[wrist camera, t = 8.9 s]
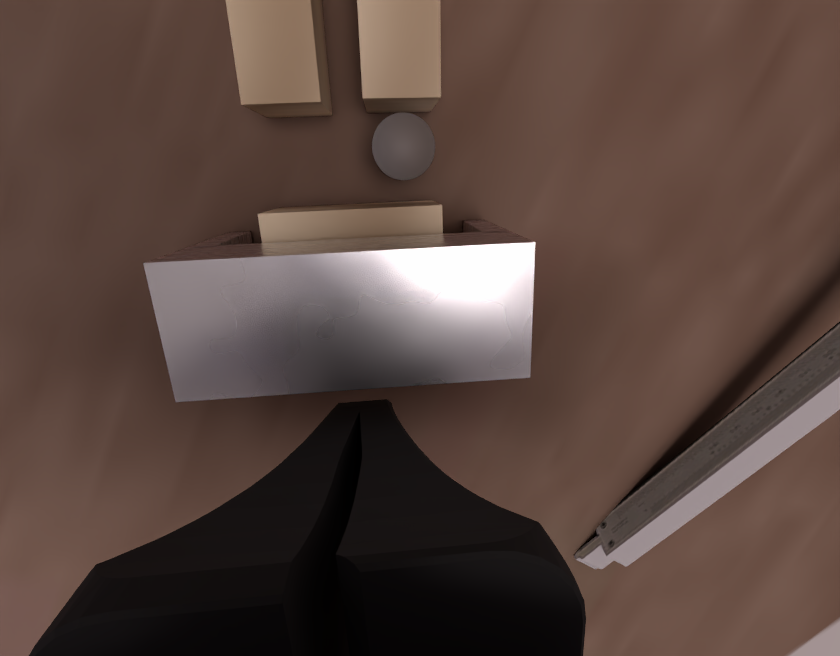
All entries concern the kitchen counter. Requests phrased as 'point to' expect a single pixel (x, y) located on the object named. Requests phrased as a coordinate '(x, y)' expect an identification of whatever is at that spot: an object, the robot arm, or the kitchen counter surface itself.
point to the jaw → (401, 79)
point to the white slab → (344, 312)
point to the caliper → (723, 455)
